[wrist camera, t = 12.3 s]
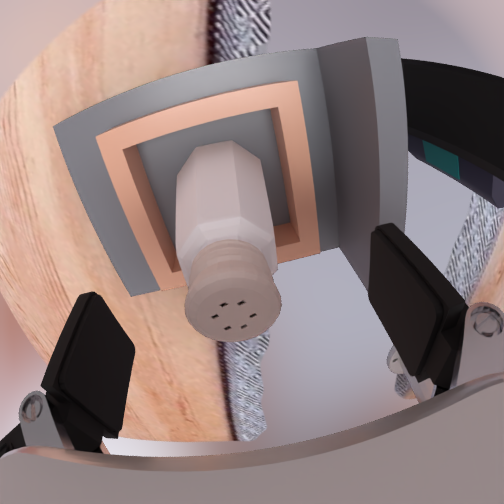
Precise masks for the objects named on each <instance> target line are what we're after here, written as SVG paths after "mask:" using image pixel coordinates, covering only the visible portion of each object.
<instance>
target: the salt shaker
mask: <svg viewBox="0 0 504 504" xmlns="http://www.w3.org/2000/svg"><path fill="white" fill-rule="evenodd" d="M176 253H177V258H178V261H179V264H180V267H181V270H182V272H183V275H184V278H185V281H186V284H187V286H188V294H187V297H186V300H185V314H186V317H187V319H188V321H189V323H190V324H191V325H192V326H193V327H194V329H195V330H197V331H198V332H199V333H201V334H202V335H204V336H205V337H208V338H211V339H213V340H217V341H223V342H239V341H244V340H248V339H251V338H254V337H257V336H258V335H260V334H262V333H263V332H265V331H266V330H267V329H268V328H270V327H271V326H272V325H273V323H274V322H275V320H276V319H277V317H278V316H279V314H280V310H281V306H282V304H281V296H280V294H279V291H278V289H277V287H276V285H275V283H274V281H273V277H272V275H273V274H274V273H275V272H276V271H277V270H278V266H277V265H278V264H277V253H276V244H275V237H274V229H273V222H272V217H271V212H270V207H269V201H268V196H267V191H266V186H265V181H264V176H263V171H262V166H261V161H260V159H259V158H257V157H256V156H254V155H253V154H251V153H250V152H249V151H247V150H246V149H244V148H243V147H241V146H240V145H238V144H237V143H235V142H234V141H232V140H230V141H224V142H219V143H213V144H208V145H203V146H198V147H196V148H195V149H194V151H193V152H192V154H191V155H190V156H189V158H188V159H187V161H186V162H185V164H184V165H183V167H182V169H181V170H180V172H179V173H178V175H177V186H176Z"/></svg>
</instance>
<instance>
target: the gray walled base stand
mask: <svg viewBox="0 0 504 504" xmlns="http://www.w3.org/2000/svg"><path fill="white" fill-rule="evenodd" d="M53 128H54V131H55V134H56V137H57V140H58V143H59V146H60V148H61V151H62V154H63V157H64V159H65V162H66V165H67V167H68V170H69V172H70V175H71V177H72V180H73V182H74V185H75V187H76V189H77V192H78V194H79V196H80V199H81V201H82V203H83V205H84V208H85V210H86V212H87V214H88V216H89V218H90V221H91V223H92V225H93V227H94V229H95V231H96V233H97V235H98V237H99V239H100V241H101V243H102V245H103V247H104V249H105V251H106V253H107V255H108V256H109V258H110V260H111V262H112V264H113V266H114V268H115V269H116V271H117V273H118V275H119V277H120V278H121V280H122V282H123V284H124V285H125V287H126V289H127V291H128V292H129V294H130V296H131V297H132V296H136V295H141V294H145V293H150V292H154V291H159V290H161V291H165V290H169V289H173V288H178V287H182V286H186V285H187V284H186V281H185V278H184V275H183V272H182V270H181V267H180V264H179V261H178V258H177V253H176V186H177V175H178V173H179V172H180V170H181V169H182V167H183V165H184V164H185V162H186V161H187V159H188V158H189V156H190V155H191V154H192V152H193V151H194V149H195V148H196V147H198V146H203V145H208V144H213V143H219V142H224V141H230V140H232V141H234V142H235V143H237V144H238V145H240V146H241V147H243V148H244V149H246V150H247V151H249V152H250V153H251V154H253V155H254V156H256V157H257V158H259V159H260V161H261V166H262V171H263V176H264V181H265V186H266V191H267V196H268V201H269V207H270V212H271V217H272V222H273V229H274V237H275V244H276V253H277V264H279V263H283V262H287V261H291V260H295V259H299V258H303V257H307V256H311V255H315V254H319V253H320V252H322V251H326V250H329V249H334V248H337V247H339V248H340V249H341V251H342V252H343V253H344V255H345V257H346V258H347V260H348V261H349V263H350V264H351V266H352V267H353V269H354V271H355V272H356V274H357V275H358V277H359V278H360V280H361V282H362V283H363V285H364V286H365V288H366V290H367V291H368V285H369V268H370V240H371V232H372V231H375V227H376V226H378V225H382V224H387V223H394V224H395V225H396V226H397V227H398V228H399V229H400V230H401V231H402V232H403V233H404V231H405V220H406V205H407V204H406V203H407V184H408V132H407V112H406V99H405V88H404V79H403V71H402V63H401V57H400V51H399V44H398V39H391V38H375V37H374V38H373V37H364V38H358V39H353V40H348V41H344V42H340V43H335V44H332V45H327V46H324V47H320V48H314V49H303V50H293V51H283V52H276V53H269V54H261V55H255V56H250V57H244V58H239V59H234V60H229V61H224V62H220V63H215V64H211V65H207V66H203V67H199V68H196V69H192V70H188V71H185V72H181V73H178V74H175V75H171V76H168V77H165V78H162V79H159V80H156V81H153V82H150V83H147V84H145V85H142V86H139V87H137V88H134V89H131V90H129V91H126V92H124V93H121V94H119V95H116V96H114V97H112V98H109V99H107V100H105V101H102V102H100V103H98V104H96V105H94V106H92V107H89V108H87V109H85V110H83V111H81V112H79V113H77V114H75V115H73V116H71V117H69V118H68V119H66V120H64V121H62V122H60V123H58V124H56V125H55V126H53Z"/></svg>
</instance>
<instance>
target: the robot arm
mask: <svg viewBox="0 0 504 504" xmlns="http://www.w3.org/2000/svg"><path fill="white" fill-rule="evenodd" d="M368 297H369V300H370V303H371V305H372V306H373V308H374V310H375V312H376V314H377V315H378V317H379V319H380V321H381V322H382V324H383V326H384V328H385V330H386V331H387V333H388V335H389V337H390V339H391V341H392V342H393V344H394V345H393V347H392V348H391V350H390V352H389V354H388V357H387V365H388V367H389V369H390V370H391V372H393V373H396V374H405V376H406V378H407V380H408V382H409V384H410V386H411V388H412V390H413V392H414V394H415V396H416V398H417V400H418V402H419V404H417V405H414V406H412V407H410V408H407V409H405V410H402V411H400V412H397V413H395V414H392V415H389V416H386V417H384V418H381V419H378V420H375V421H373V422H370V423H367V424H364V425H361V426H358V427H355V428H352V429H349V430H345V431H341V432H338V433H334V434H331V435H327V436H323V437H320V438H316V439H312V440H307V441H303V442H298V443H294V444H289V445H284V446H279V447H273V448H267V449H261V450H254V451H248V452H240V453H231V454H221V455H208V456H189V457H140V456H122V455H111V454H110V453H109V452H108V450H107V448H106V446H105V445H104V443H103V441H102V437H103V436H104V437H105V438H114V439H115V438H116V439H118V434H119V431H120V430H121V429H122V425H123V418H124V411H125V405H126V399H127V393H128V387H129V382H130V376H131V371H132V366H133V361H134V356H135V347H134V344H133V342H132V341H131V340H130V338H129V337H128V335H127V334H126V333H125V331H124V330H123V328H122V327H121V325H120V324H119V322H118V321H117V320H116V318H115V317H114V315H113V314H112V312H111V310H110V309H109V307H108V306H107V304H106V303H105V301H104V300H103V298H102V297H101V296H100V295H98V294H97V293H95V292H89V293H84V294H81V295H79V297H78V298H77V300H76V302H75V305H74V307H73V309H72V311H71V313H70V315H69V317H68V319H67V321H66V324H65V326H64V328H63V330H62V333H61V335H60V337H59V340H58V342H57V344H56V347H55V349H54V352H53V354H52V357H51V359H50V362H49V364H48V367H47V370H46V372H45V375H44V378H43V381H42V383H41V387H42V388H43V389H45V390H46V391H47V392H46V395H44V394H43V393H42V392H40V391H33V392H31V393H29V394H28V395H27V396H26V397H25V398H24V400H23V401H22V403H21V405H20V408H19V420H20V423H19V424H18V425H17V426H16V427H15V428H14V429H13V430H12V431H11V432H10V433H9V434H7V435H6V436H5V437H4V438H3V439H2V440H1V441H0V504H504V313H503V312H502V311H501V310H500V309H499V308H498V307H496V306H495V305H493V304H490V303H487V302H479V303H475V304H473V305H472V306H470V307H468V306H467V304H466V303H465V300H464V299H463V298H462V297H461V295H460V294H459V293H458V292H457V291H456V289H455V288H454V287H453V286H452V285H451V283H450V282H449V281H448V280H447V279H446V278H445V277H444V275H443V274H442V273H441V272H440V271H439V270H438V269H437V268H436V267H435V266H434V264H433V263H432V262H431V261H430V260H429V259H428V258H427V257H426V256H425V255H424V254H423V253H422V251H421V250H420V249H419V248H418V247H417V246H416V245H415V244H414V243H413V242H412V241H411V240H410V239H409V238H408V237H407V236H406V235H405V234H404V233H403V232H402V231H401V230H400V229H399V228H398V227H397V226H396V225H395V224H394V223H387V224H382V225H378V226H376V227H375V231H372V232H371V240H370V268H369V285H368Z"/></svg>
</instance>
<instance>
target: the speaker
mask: <svg viewBox="0 0 504 504" xmlns="http://www.w3.org/2000/svg"><path fill="white" fill-rule="evenodd" d="M401 63H402V71H403V79H404V88H405V99H406V112H407V132H408V151H409V152H410V153H411V154H412V155H413V156H415V157H416V158H417V159H418V160H420V161H422V162H424V163H426V164H428V165H430V166H432V167H433V168H435V169H437V170H439V171H440V172H442V173H444V174H446V175H447V176H449V177H451V178H453V179H454V180H456V181H458V182H459V183H461V184H462V185H464V186H466V187H467V188H469V189H470V190H472V191H474V192H475V193H477V194H478V195H480V196H481V197H483V198H484V199H486V200H487V201H489V202H490V203H491V204H493V205H494V206H496V207H497V208H503V207H504V78H502V77H499V76H496V75H492V74H488V73H484V72H480V71H476V70H472V69H467V68H463V67H457V66H452V65H447V64H441V63H435V62H428V61H420V60H412V59H402V58H401Z"/></svg>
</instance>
